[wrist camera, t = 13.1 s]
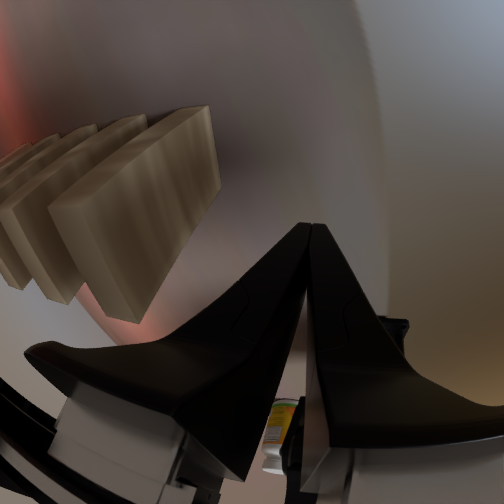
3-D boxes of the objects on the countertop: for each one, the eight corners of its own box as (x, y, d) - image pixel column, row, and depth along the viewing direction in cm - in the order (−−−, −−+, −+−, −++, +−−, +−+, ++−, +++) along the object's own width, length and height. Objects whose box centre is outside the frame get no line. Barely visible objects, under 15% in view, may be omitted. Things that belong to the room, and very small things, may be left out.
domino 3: (145, 113, 15) (11, 208, 8) (163, 187, 19) (67, 305, 11) (123, 117, 16) (-6, 209, 8) (143, 187, 19) (47, 298, 12)
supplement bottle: (319, 410, 36) (307, 476, 29) (288, 414, 39) (275, 475, 32) (296, 396, 34) (280, 468, 27) (264, 400, 37) (247, 466, 30)
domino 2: (96, 123, 16) (-25, 210, 9) (116, 188, 20) (22, 290, 12) (80, 127, 17) (-35, 211, 9) (100, 189, 20) (9, 285, 13)
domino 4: (208, 104, 14) (79, 206, 7) (221, 186, 18) (139, 324, 10) (181, 107, 15) (46, 207, 7) (197, 186, 18) (106, 316, 11)
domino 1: (59, 132, 17) (-47, 212, 10) (79, 190, 20) (-8, 279, 13) (46, 136, 18) (-53, 213, 10) (66, 191, 21) (-17, 276, 14)
